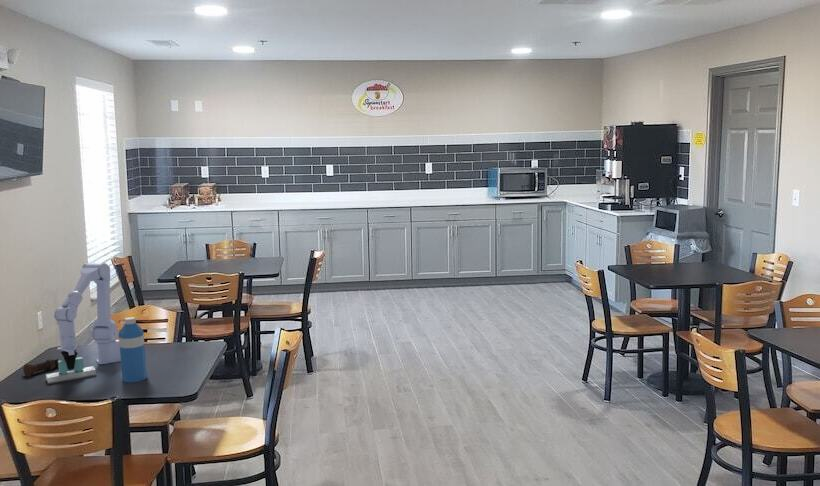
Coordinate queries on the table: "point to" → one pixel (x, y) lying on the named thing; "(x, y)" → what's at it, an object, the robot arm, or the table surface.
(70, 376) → the rail
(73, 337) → the robot arm
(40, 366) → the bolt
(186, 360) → the table surface
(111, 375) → the table surface
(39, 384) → the table surface
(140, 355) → the water bottle
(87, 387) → the table surface
